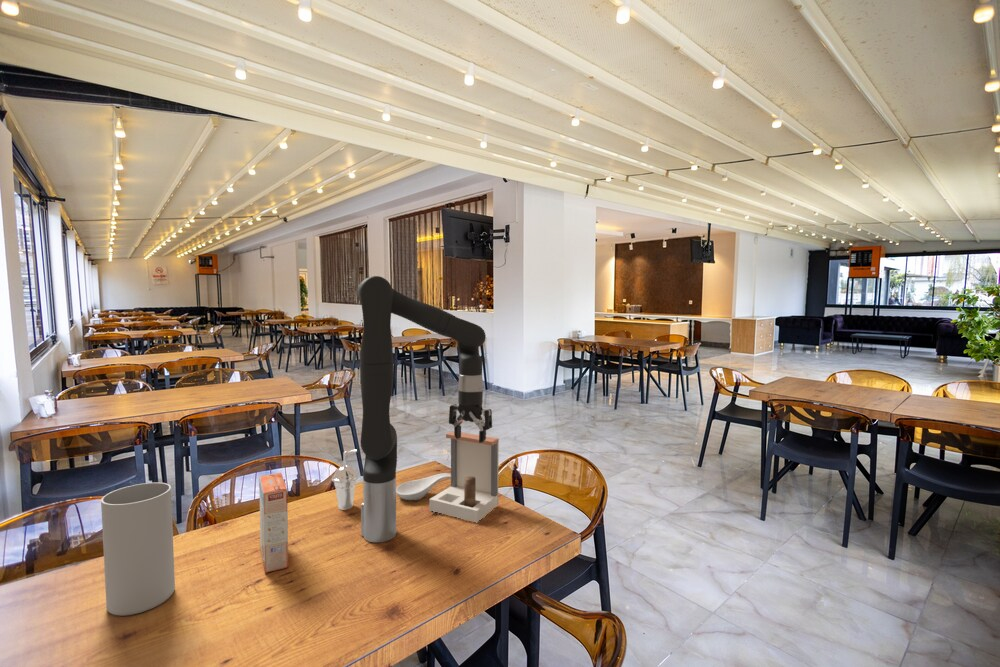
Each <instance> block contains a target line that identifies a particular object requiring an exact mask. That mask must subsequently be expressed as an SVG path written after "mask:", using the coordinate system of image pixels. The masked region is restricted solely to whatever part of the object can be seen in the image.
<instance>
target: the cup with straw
mask: <svg viewBox="0 0 1000 667" xmlns="http://www.w3.org/2000/svg"><path fill="white" fill-rule="evenodd" d="M358 452H359V449H348V450H344V451H343V453H342V455H343V465H342V466H339V467H338V468H336V471H335V472H334V474H333V475H332V476H331V481H332V482H333V484H334V487H335V493H336V500H337V505H338V506H337V507H338V509H339V510H342V511H343V510H344V511H346V510H350V509H353V507H354V498H355V497H354V496H355V490H356V488H355V487H356V483H357V480H358V479H359V478H360V477H359V474H358V473H357V472H356V470H355V469H354V468H353V467H352V466H349V465H347V460H346V457H347V456H346V455H347V453H358Z"/></svg>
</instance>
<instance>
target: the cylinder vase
mask: <svg viewBox="0 0 1000 667" xmlns="http://www.w3.org/2000/svg"><path fill="white" fill-rule="evenodd" d="M100 508H101V526H102V527H101V529H102V546H103V548H102V549H103V561H104V562H103V566H104V568H103V569H104V582H105V583H104V585H105V605H106V610H107V611H108V613H109V614H111V615H114V616H122V617H123V616H133V615H136V614H140V613H143V612H147V611H150V610H151V609H154V608H156V607H158V606H160V605H161V604H163V603H164V602H166V601H167V600H168V599H170V597H171V596H172V595H173V594H174V592H175V589H176V581H175V578H176V577H175V556H174V555H175V553H174V531H173V530H174V529H173V509H172V508H173V506H172V487H171V484H168V483H165V482H146V483H145V482H144V483H138V484H133V485H129V486H125V487H120V488H118V489H115V490H112V491H111V492H109V493H106V494H105V495H104V496H102V497H101V499H100Z"/></svg>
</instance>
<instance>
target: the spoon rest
mask: <svg viewBox="0 0 1000 667" xmlns="http://www.w3.org/2000/svg"><path fill="white" fill-rule="evenodd" d="M445 479H449V480H451V473H448V472H444V473H443V472H442V473H438V474H433V475H430V476H427V477H423V478H419V479H415V480H409V481H405V482H403V483H400V484H399V485H396V496H398V497H399V498H401V499H403V500H405V501H410V500H415V501H419V500H421V498H422V497H423V498H424V497H425V496H426V495H427V494H428V493H429V492H430V490H432V488H433V487H434V486H435V485H437V483H439V482H440V481H442V480H445ZM423 498H422V499H423ZM418 499H419V500H418Z"/></svg>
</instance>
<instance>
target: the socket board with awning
mask: <svg viewBox="0 0 1000 667" xmlns="http://www.w3.org/2000/svg"><path fill="white" fill-rule="evenodd" d="M445 438H446V439H450V474H451V479H450V486H449V487H447V488H445V489H444V490H442V491H441V492H439V493H437V494H435V495H434V496H432V497H431V498H429V500H428V501H429V503H428V504H429V506H428V507H429V508H428V509H429V512H431V511H433V512H432V513H435V512H438V513H437V514H439V513H442V514H441V515H443V514H446V515H450V516H454V517H457V518H456V519H458V518H461V519H460V520H462V519H465V520H464V521H466V520H469V521H473V522H476V523H475V524H478V523H479V522H480V521H479V520H481V519H482V518H483V517H484V516H485V515H486V514H488V513H489V512H490V511H491V510H492V509H493V508H494V507H496V506H497V505H498V506H499V458H500V457H499V455H500V454H499V451H500V450H499V446H500V445H499V444H500V442H499V440H500V439H499V438H498V437H493V436H492V437H491V436H487V435H486V440H485V441H484V442H483V443H479V434H472V433H468V432H462V431H461V437H460V438H459V439H456V438H455V435H454V430H453V431H451V432H447V433H446V434H445ZM469 476H472V477H475V478H476V498H475V506H474V507H473V508H472V507H468V506H464V478H465V477H469ZM489 514H490V513H489ZM489 514H488V515H489ZM446 515H445V516H446ZM450 516H449V517H450ZM454 517H453V518H454ZM484 518H485V517H484ZM484 518H483V519H484ZM483 519H482V520H483ZM482 520H481V521H482ZM469 521H468V522H469ZM478 521H479V522H478ZM473 522H472V523H473ZM477 522H478V523H477Z"/></svg>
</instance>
